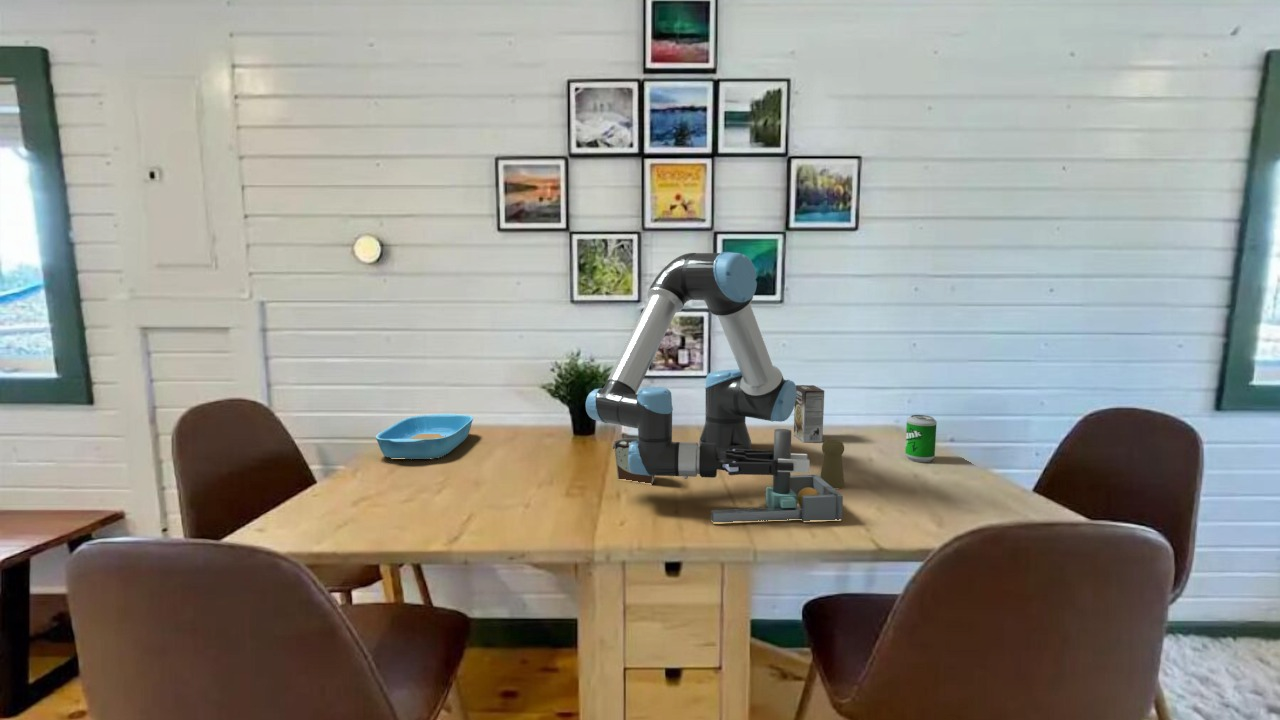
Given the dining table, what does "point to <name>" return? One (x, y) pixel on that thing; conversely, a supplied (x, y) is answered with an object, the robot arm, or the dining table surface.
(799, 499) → the ball
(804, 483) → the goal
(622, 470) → the food container
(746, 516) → the rail
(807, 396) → the coffee box
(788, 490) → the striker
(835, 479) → the olive pawn figure
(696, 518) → the dining table surface
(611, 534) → the dining table surface
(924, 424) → the soda can
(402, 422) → the casserole dish
